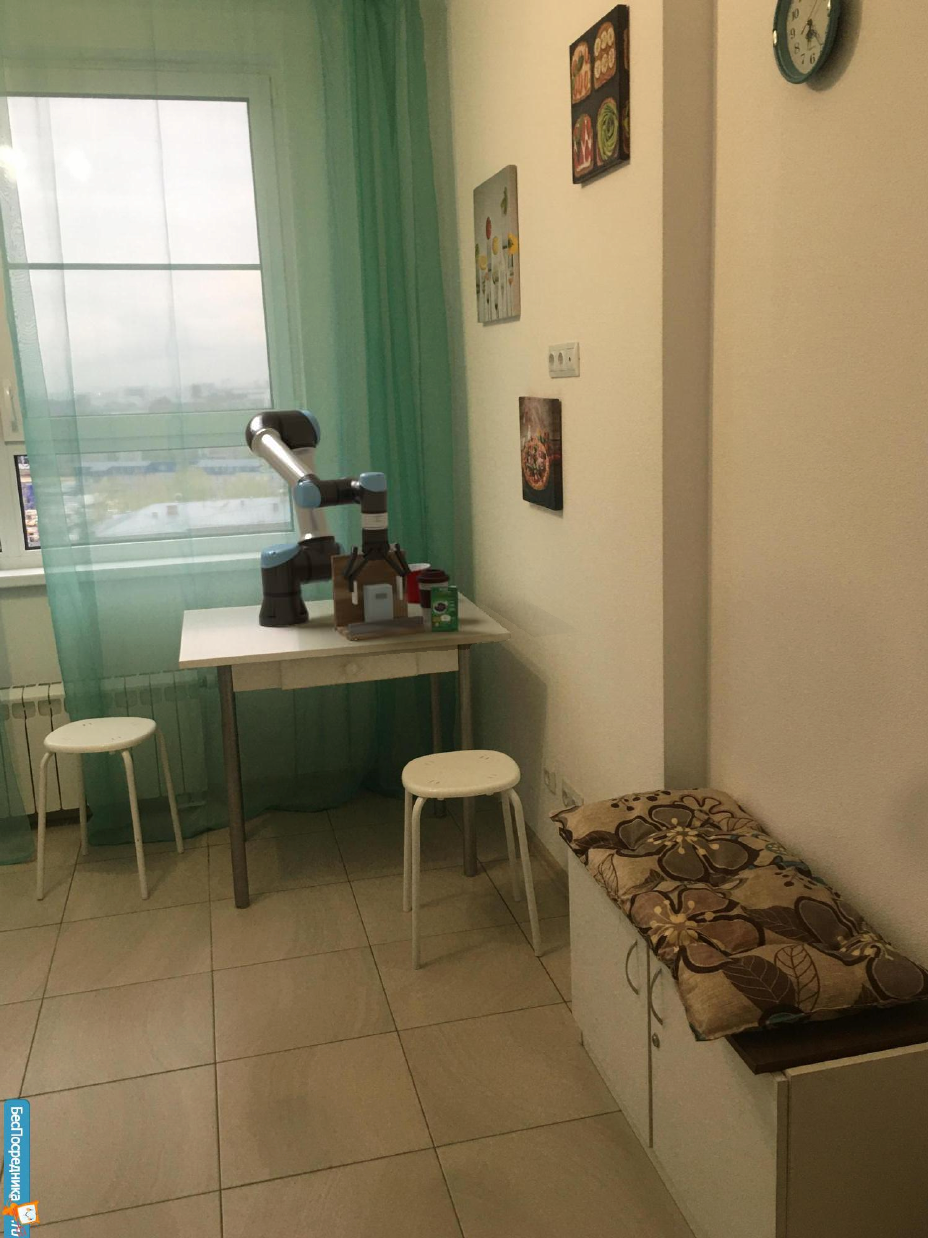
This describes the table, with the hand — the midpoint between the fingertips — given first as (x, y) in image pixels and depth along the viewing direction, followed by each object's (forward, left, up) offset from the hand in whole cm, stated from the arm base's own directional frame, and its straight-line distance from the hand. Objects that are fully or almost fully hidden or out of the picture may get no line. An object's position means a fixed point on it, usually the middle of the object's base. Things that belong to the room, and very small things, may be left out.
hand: (377, 601), depth 314 cm
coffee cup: (-7, +20, -9) cm, 23 cm away
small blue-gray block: (0, 0, -7) cm, 7 cm away
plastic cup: (-37, +25, -9) cm, 46 cm away
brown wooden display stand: (0, 0, -9) cm, 9 cm away
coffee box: (+9, +17, -9) cm, 21 cm away
